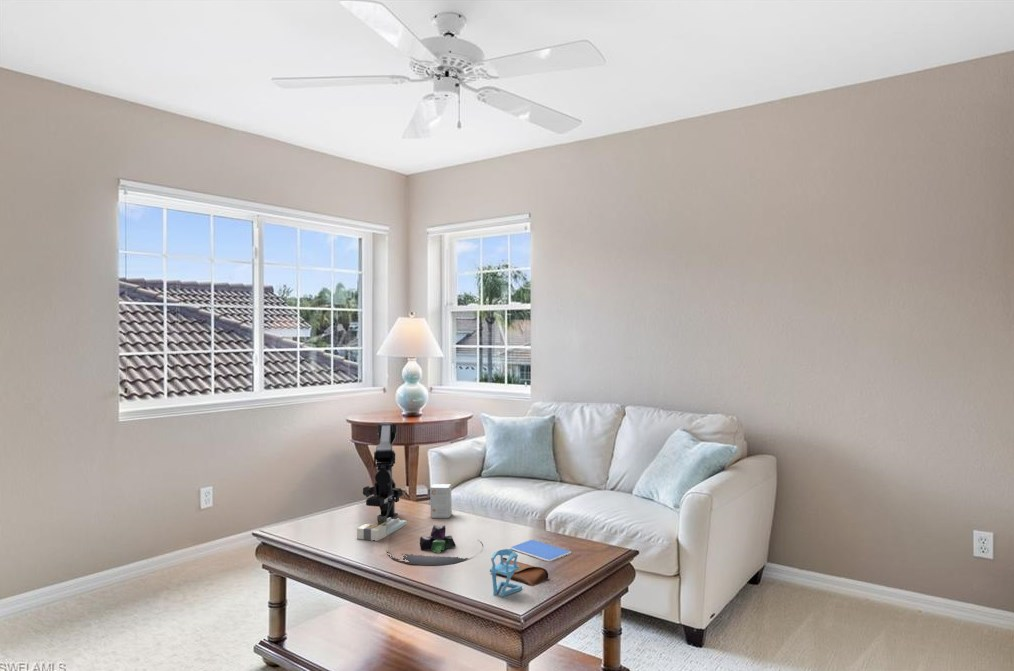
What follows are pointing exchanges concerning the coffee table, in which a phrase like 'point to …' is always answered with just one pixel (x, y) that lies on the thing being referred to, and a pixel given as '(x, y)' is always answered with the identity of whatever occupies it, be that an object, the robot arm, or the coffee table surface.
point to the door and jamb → (379, 529)
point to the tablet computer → (540, 550)
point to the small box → (440, 500)
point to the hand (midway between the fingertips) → (385, 518)
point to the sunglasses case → (527, 573)
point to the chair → (504, 572)
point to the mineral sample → (434, 549)
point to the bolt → (380, 521)
